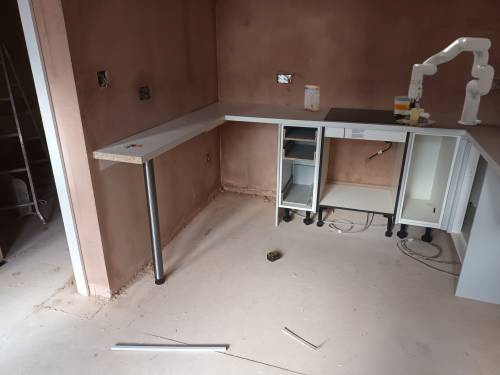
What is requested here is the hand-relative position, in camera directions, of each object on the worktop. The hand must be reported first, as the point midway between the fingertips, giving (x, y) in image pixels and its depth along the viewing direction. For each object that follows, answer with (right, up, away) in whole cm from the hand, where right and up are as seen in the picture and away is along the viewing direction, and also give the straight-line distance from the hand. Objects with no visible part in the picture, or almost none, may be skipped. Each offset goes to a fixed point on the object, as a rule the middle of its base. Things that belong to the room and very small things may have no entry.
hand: (412, 108), depth 276 cm
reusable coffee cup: (+7, +2, +39) cm, 39 cm away
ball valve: (+7, -8, +10) cm, 14 cm away
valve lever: (+3, 0, +5) cm, 5 cm away
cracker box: (-64, +11, +61) cm, 89 cm away
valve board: (+7, -9, +10) cm, 15 cm away
